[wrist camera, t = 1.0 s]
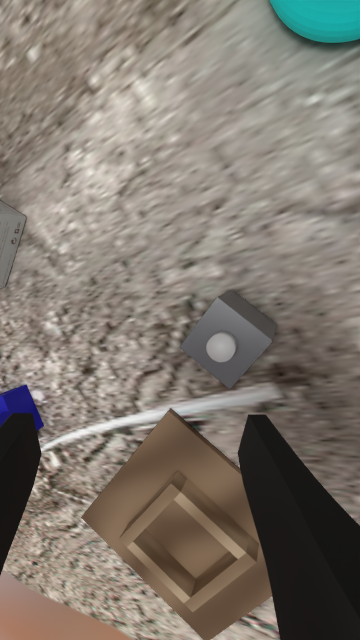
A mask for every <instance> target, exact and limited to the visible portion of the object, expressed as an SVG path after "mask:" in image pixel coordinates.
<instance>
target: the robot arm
mask: <svg viewBox="0 0 360 640" xmlns="http://www.w3.org/2000/svg"><path fill="white" fill-rule="evenodd" d="M40 457H41V449H40V444H39V440H38V435H37V430H36V426H35V421H34V416H33V413H12V414H11V415H10V416H9V417H8V418H7V419H6V421H5V422H4V423H3V424H2V425H1V426H0V575H1V572H2V569H3V566H4V563H5V560H6V558H7V555H8V552H9V550H10V547H11V544H12V542H13V539H14V536H15V534H16V531H17V528H18V526H19V523H20V520H21V518H22V515H23V512H24V510H25V507H26V504H27V502H28V499H29V496H30V494H31V491H32V488H33V485H34V481H35V477H36V474H37V470H38V466H39V462H40ZM238 457H239V463H240V469H241V475H242V480H243V485H244V488H245V492H246V496H247V499H248V503H249V506H250V510H251V513H252V517H253V520H254V524H255V527H256V531H257V534H258V538H259V541H260V545H261V548H262V552H263V555H264V559H265V563H266V567H267V572H268V577H269V582H270V587H271V592H272V597H273V602H274V607H275V612H276V618H277V623H278V628H279V634H280V639H281V640H360V526H359V525H358V524H357V523H356V522H355V521H354V520H353V519H352V518H351V517H350V516H349V514H348V513H347V512H346V511H345V510H344V509H343V508H342V507H341V506H340V505H339V504H338V503H337V502H336V501H335V500H334V498H333V497H332V496H331V495H330V494H329V493H328V492H327V491H326V490H325V488H324V487H323V486H322V485H321V484H320V483H319V482H318V480H317V479H316V478H315V477H314V476H313V474H312V473H311V472H310V471H309V470H308V468H307V467H306V466H305V465H304V464H303V462H302V461H301V460H300V459H299V457H298V456H297V455H296V454H295V452H294V451H293V450H292V449H291V447H290V446H289V445H288V443H287V442H286V441H285V440H284V438H283V437H282V436H281V434H280V433H279V432H278V430H277V429H276V428H275V426H274V425H273V424H272V422H271V421H270V420H269V418H268V417H267V416H266V415H248V418H247V422H246V425H245V429H244V432H243V436H242V439H241V443H240V447H239V450H238Z"/></svg>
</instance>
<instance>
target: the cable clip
mask: <svg viewBox="0 0 360 640" xmlns="http://www.w3.org/2000/svg"><path fill="white" fill-rule="evenodd" d="M12 413H33V416H34V421H35V426H36V430H38V429H40V428H41V427H43V426H44V425H43V422H42V420H41V418H40V415H39V413H38V411H37V408H36V406H35V404H34V401H33V399H32V397H31V394H30V392H29V390H28V387H27V385H23V386H21V387H18V388H15V389H12V390H10V391H7V392H4V393H1V394H0V426H1V425H2V424H3V423H4V422H5V421H6V419H7V418H8V417H9V416H10V415H11V414H12Z"/></svg>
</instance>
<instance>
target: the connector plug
mask: <svg viewBox="0 0 360 640" xmlns="http://www.w3.org/2000/svg"><path fill="white" fill-rule="evenodd" d="M276 325H277V324H276V323H275V322H274V321H272V320H271V319H270V318H268V317H267V316H266V315H265V314H263V313H262V312H261V311H259V310H258V309H257V308H255V307H254V306H253V305H252V304H250V303H249V302H248V301H246V300H245V299H244V298H243V297H241V296H240V295H239V294H237V293H236V292H235V291H234V290H230V291H228V292H226V293H224V294H223V295H221V296H219V297H217V298H216V300H215V301H214V302H213V304H212V305H211V306H210V308H209V309H208V310H207V311H206V313H205V314H204V315H203V317H202V318H201V319H200V321H199V322H198V323H197V325H196V326H195V327H194V329H193V330H192V331H191V333H190V334H189V335H188V336H187V338H186V339H185V340H184V342H183V343H182V344H181V346H180V348H181V349H182V350H183V351H184V352H186V353H187V354H188V355H189V356H190V357H192V358H193V359H194V360H195V361H196V362H198V363H199V364H200V365H201V366H202V367H204V368H205V369H206V370H207V371H208V372H209V373H211V374H212V375H213V376H214V377H215V378H217V379H218V380H219V381H220V382H221V383H223V384H224V385H225V386H226V387H227V388H229V389H231V387H232V386H233V385H234V384H235V383H236V382H237V381H238V380H239V378H240V377H241V376H242V375H243V374H244V373H245V372H246V371H247V369H248V368H249V367H250V366H251V365H252V364H253V363H254V362H255V360H256V359H257V358H258V357H259V356H260V355H261V354H262V353H263V351H264V350H265V349H266V348H267V347H268V346H269V345H270V344H271V342H272V341H273V338H274V334H275V330H276Z"/></svg>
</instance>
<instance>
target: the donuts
mask: <svg viewBox="0 0 360 640" xmlns="http://www.w3.org/2000/svg"><path fill="white" fill-rule="evenodd" d="M269 1H270V3H271V5H272V7H273V9H274V10H275V12H276V14H277V15H278V17H279V18H280V19H281V20H282V21H283V23H284V24H285V25H286V26H287V27H289V28H290V29H291V30H293V31H294V32H295V33H297V34H299V35H301V36H303V37H305V38H308V39H311V40H314V41H318V42H326V43H340V42H349V41H353V40H358V39H360V0H269Z"/></svg>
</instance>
